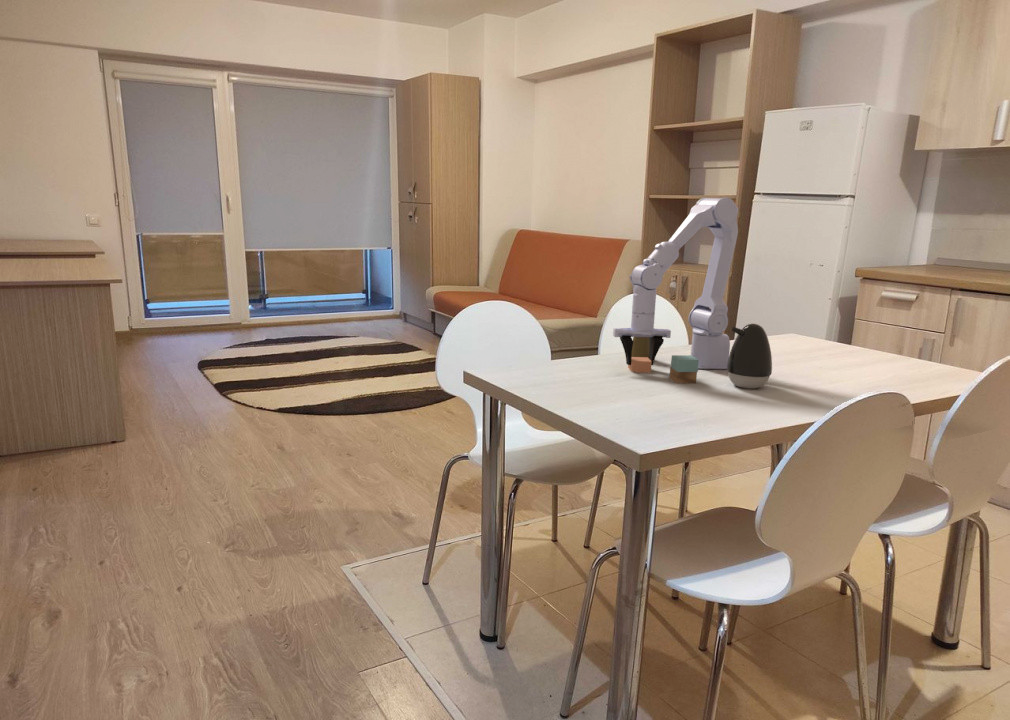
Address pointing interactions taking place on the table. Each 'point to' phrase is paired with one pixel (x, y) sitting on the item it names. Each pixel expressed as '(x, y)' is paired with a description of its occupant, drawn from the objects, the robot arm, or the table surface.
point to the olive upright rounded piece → (640, 347)
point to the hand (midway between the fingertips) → (639, 364)
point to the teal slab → (684, 363)
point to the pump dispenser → (750, 358)
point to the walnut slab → (683, 376)
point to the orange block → (640, 364)
